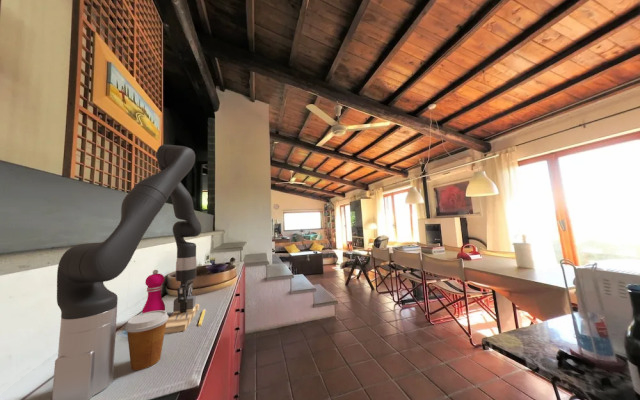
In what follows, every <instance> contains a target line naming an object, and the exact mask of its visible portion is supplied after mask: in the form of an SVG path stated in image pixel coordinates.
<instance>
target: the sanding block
mask: <svg viewBox="0 0 640 400" xmlns="http://www.w3.org/2000/svg"><path fill="white" fill-rule="evenodd" d="M182 299H184V298H183V297H182ZM195 304H196V295H191V296H188V297H187V311H186V312H189V311H193V310H194V309H195ZM175 313H180V303H178V297H176V298H175V299H174V300H173V311H172V314H175Z"/></svg>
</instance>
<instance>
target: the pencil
mask: <svg viewBox="0 0 640 400" xmlns="http://www.w3.org/2000/svg"><path fill="white" fill-rule="evenodd" d="M205 314H206V308H204V309H202V311H201V315H200V318H199V322H198V327H202V324H203V321H204V318H205Z"/></svg>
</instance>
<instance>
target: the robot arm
mask: <svg viewBox="0 0 640 400" xmlns="http://www.w3.org/2000/svg"><path fill="white" fill-rule="evenodd" d="M156 162H157V165H158V168H159V170H160V171H159V172H156V173H154V174H152V175H150V176H147V177H145V178H144V179H141V180H140V181H139V182H137V183H136V184H134V186H133V187H132V188H131V190H130V191H129V192H128V193H127V194H126V196H125V197H124V199H122V203H121V210H120V215H121V216H120V221H119V223H118V225H117V226H116V228H114V230H113V232H112V233H111V234H110V235H109V236H108V237H107V238H106V239H105V240H104V241H102V242H90V243H89V242H87V243H79V244H76V245H74V246H72V247H70V248H68V249H67V250H66V251H65V252H64V253H63V254H62V256H61V258H60V260H59V262H58V266H57V272H56V304H57V306H58V307H59V309H60V315H61V316H60V318H61V319H60V328H59V329H60V330H59V338H58V339H59V340H58V350H57V358H56V359H55V360H54V367H53V368H54V369H53V381H52V392H51V393H52V394H51V395H52V396H51V400H90V399H91V398H93V397H94V396H96V395H98V393H100V392H102V391H103V390H105V389H106V388H107V387H109V386H110V385H111V383H112V382H113V380H114V370H115V369H114V368H115V367H114V366H115V355H116V354H115V353H116V335H117V334H116V333H117V318H118V316H117V315H118V314H117V313H118V295H117V293H115V292H113V291H111V290H110V289H108V288H107V287H106V286H105V283H104V282H108V281H110V282H111V280H114V279H116V278H117V277H119V276H120V275H121V274H122V273H123V272H124V271H125V269H126V268H127V266H128V265H129V263H130V262H131V260H132V258H133V256H134V255H135V252H136V250H137V248H138V247H139V245H140V242H141V241H142V239H143V237H144V235H145V233H146V232H147V230H149V227H150V226H151V224H152V223H153V221H154V219H155V218H156V217H157V215H158V214H159V212H160V211H161V210H162V209H163V207H164V205H166V202H167V201H168V199H169V198H171V202H172V208H173V213H174V217H175V218H176V219H177V221H175V223H174V224H173V225H172V234H173V237H174V240H175V244H176V260H175V261H176V262H175V281H176V282H180V284H179V287H177V290H176V291H177V298H178V303H180V313H183V312H186V311H187V297H188V296H193V288H194V279H196V278H197V245H196V243H194V242H189V241H186V240H185V238H195V237H198V236H199V235H201V232H202V225H201V223H200V220H199V219H198V217H197V215H196V213H195V208H194V201H193V198H192V196H191V194H190V192H189V191H188V190H187V188H186V187H185V186H184V184H183V183H182V181H183V179H184V178H185V177H186V176H187V175H188V174H189V173H190V171H192V168H193V167H194V165H195V163H196V154H195V151H194V150H193V148H190V147H188V146H184V145H176V144H175V145H173V144H161V145H160V146H159V147H158V148H157V150H156ZM178 220H179V221H178ZM180 220H181V221H180ZM182 297H183V298H184V299H182Z"/></svg>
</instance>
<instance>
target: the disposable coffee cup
mask: <svg viewBox="0 0 640 400" xmlns="http://www.w3.org/2000/svg"><path fill="white" fill-rule="evenodd" d="M169 317H170V316H169V315H168V312H167V311H166V310H165V311H162V310H159V311H151V312H146V313H143V314H142V313H140V314H137V315H135V316H132V317H131V318H129V319H128V320H127V323H126V324H125V326H124V330H125V331H126V332H127V334H126V335H127V344H128V352H129V361H130V369H131V370H133V371H139V370H145V369H147V368H149V367H152V366H154V365H155V364H157V363H158V362H159V361H160V360H161V357H162V350H163V344H164V338H165V334H164V333H165V327H166V322H167V319H168V318H169Z"/></svg>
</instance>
